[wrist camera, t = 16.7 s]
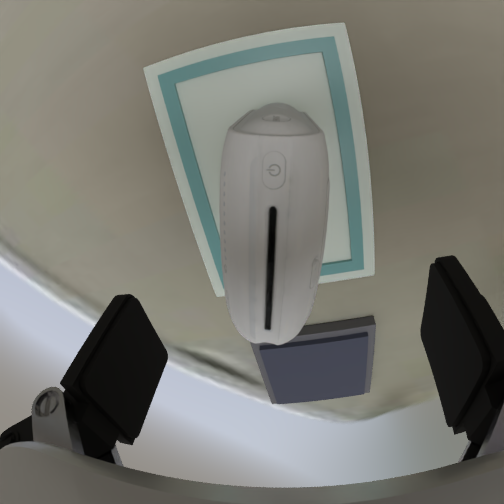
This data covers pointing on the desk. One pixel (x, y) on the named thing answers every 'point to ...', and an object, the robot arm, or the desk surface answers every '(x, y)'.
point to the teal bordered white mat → (252, 98)
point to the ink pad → (319, 362)
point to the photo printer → (273, 220)
